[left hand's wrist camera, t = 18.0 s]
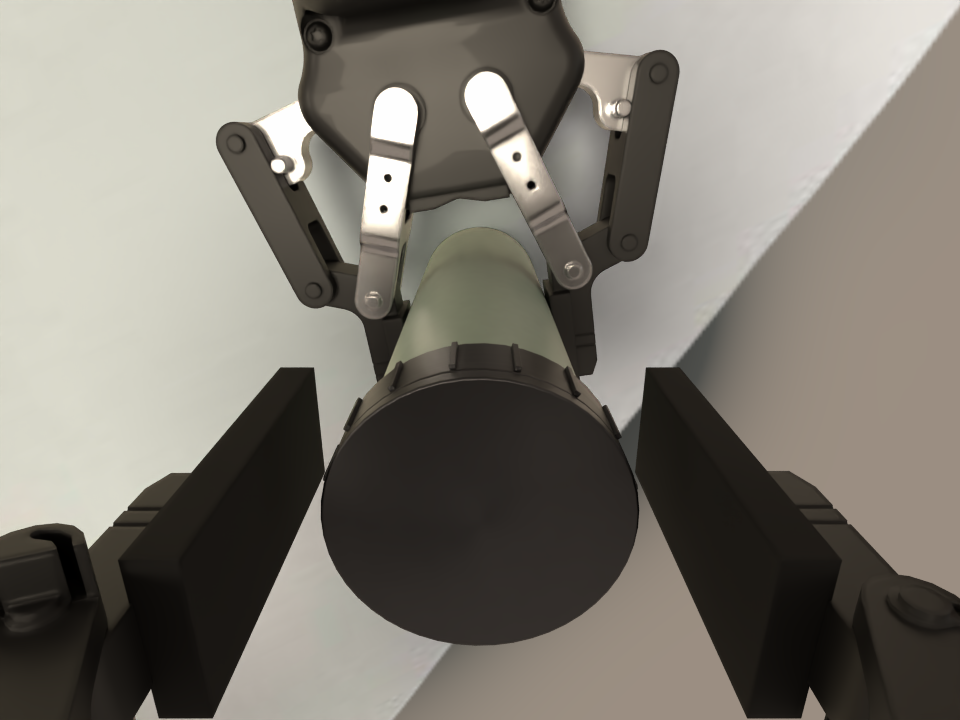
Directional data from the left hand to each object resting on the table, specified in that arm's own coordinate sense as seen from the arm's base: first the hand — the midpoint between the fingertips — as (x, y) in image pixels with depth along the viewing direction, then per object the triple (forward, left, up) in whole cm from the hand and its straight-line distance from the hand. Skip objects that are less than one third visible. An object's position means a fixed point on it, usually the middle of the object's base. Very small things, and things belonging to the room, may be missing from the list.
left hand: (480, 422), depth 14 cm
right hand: (-2, -2, -7) cm, 8 cm away
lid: (0, 0, +4) cm, 4 cm away
